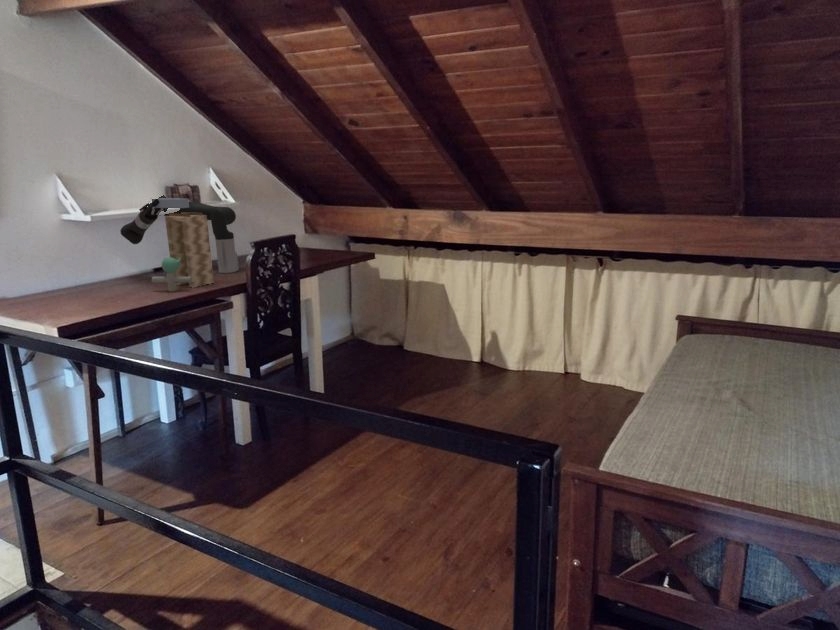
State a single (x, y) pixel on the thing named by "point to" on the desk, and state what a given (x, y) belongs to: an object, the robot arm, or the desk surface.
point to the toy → (171, 274)
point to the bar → (172, 203)
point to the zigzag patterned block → (190, 246)
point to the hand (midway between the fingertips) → (162, 200)
